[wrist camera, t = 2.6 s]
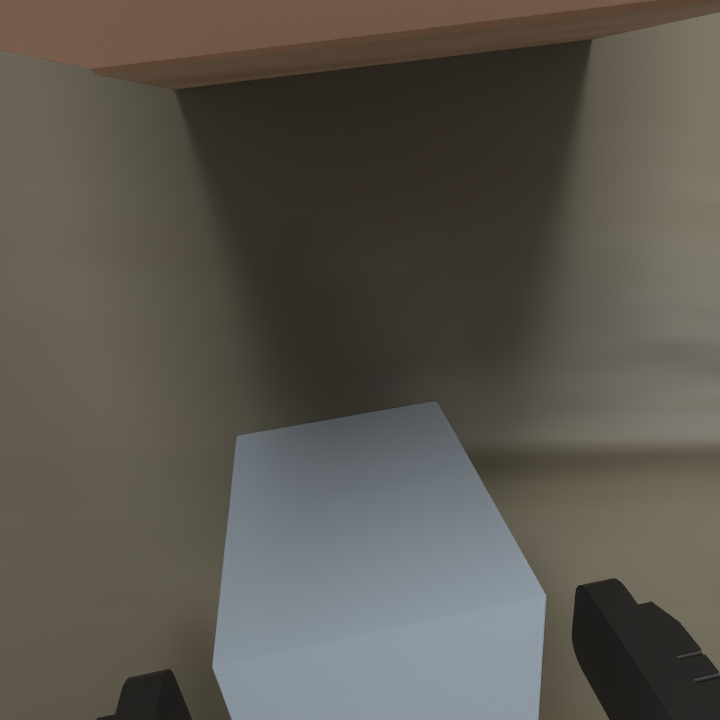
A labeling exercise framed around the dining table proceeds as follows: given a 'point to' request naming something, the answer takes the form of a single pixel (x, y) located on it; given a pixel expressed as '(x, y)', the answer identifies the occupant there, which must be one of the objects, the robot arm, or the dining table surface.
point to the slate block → (373, 579)
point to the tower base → (409, 45)
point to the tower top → (230, 24)
